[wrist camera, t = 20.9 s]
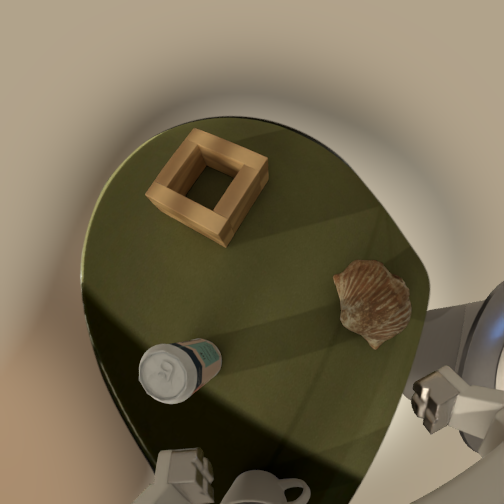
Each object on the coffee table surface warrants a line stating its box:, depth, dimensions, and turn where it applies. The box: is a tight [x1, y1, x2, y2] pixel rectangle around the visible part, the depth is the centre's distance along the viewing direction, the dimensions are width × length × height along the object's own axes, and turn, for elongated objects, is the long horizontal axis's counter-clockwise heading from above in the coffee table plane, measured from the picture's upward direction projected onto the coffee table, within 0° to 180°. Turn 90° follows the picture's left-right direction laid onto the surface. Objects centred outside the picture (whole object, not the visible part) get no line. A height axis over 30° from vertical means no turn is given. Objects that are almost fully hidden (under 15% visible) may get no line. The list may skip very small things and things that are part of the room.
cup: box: [221, 470, 310, 504], centre depth 22 cm, size 8×10×8 cm
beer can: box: [139, 339, 222, 404], centre depth 25 cm, size 5×5×12 cm
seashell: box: [333, 260, 412, 349], centre depth 27 cm, size 9×7×8 cm
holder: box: [145, 128, 269, 247], centre depth 33 cm, size 10×10×5 cm
